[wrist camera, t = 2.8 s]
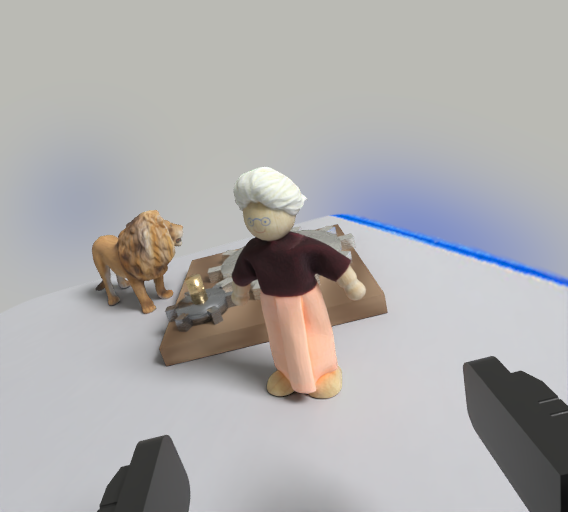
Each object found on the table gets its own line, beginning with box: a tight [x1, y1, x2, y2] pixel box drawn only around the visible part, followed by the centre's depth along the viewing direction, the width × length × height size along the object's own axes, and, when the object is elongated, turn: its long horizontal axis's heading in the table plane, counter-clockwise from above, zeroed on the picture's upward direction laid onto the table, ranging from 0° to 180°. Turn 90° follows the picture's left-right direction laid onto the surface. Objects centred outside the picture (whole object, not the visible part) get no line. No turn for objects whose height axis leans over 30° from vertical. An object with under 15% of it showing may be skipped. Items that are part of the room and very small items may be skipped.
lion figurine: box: [92, 210, 183, 314], centre depth 41 cm, size 15×5×9 cm, turn 60°
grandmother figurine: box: [231, 167, 366, 398], centre depth 22 cm, size 8×4×13 cm, turn 81°
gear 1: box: [165, 274, 238, 332], centre depth 32 cm, size 6×5×3 cm
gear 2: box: [208, 226, 356, 300], centre depth 38 cm, size 13×13×1 cm
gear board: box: [159, 224, 387, 366], centre depth 37 cm, size 16×17×2 cm
